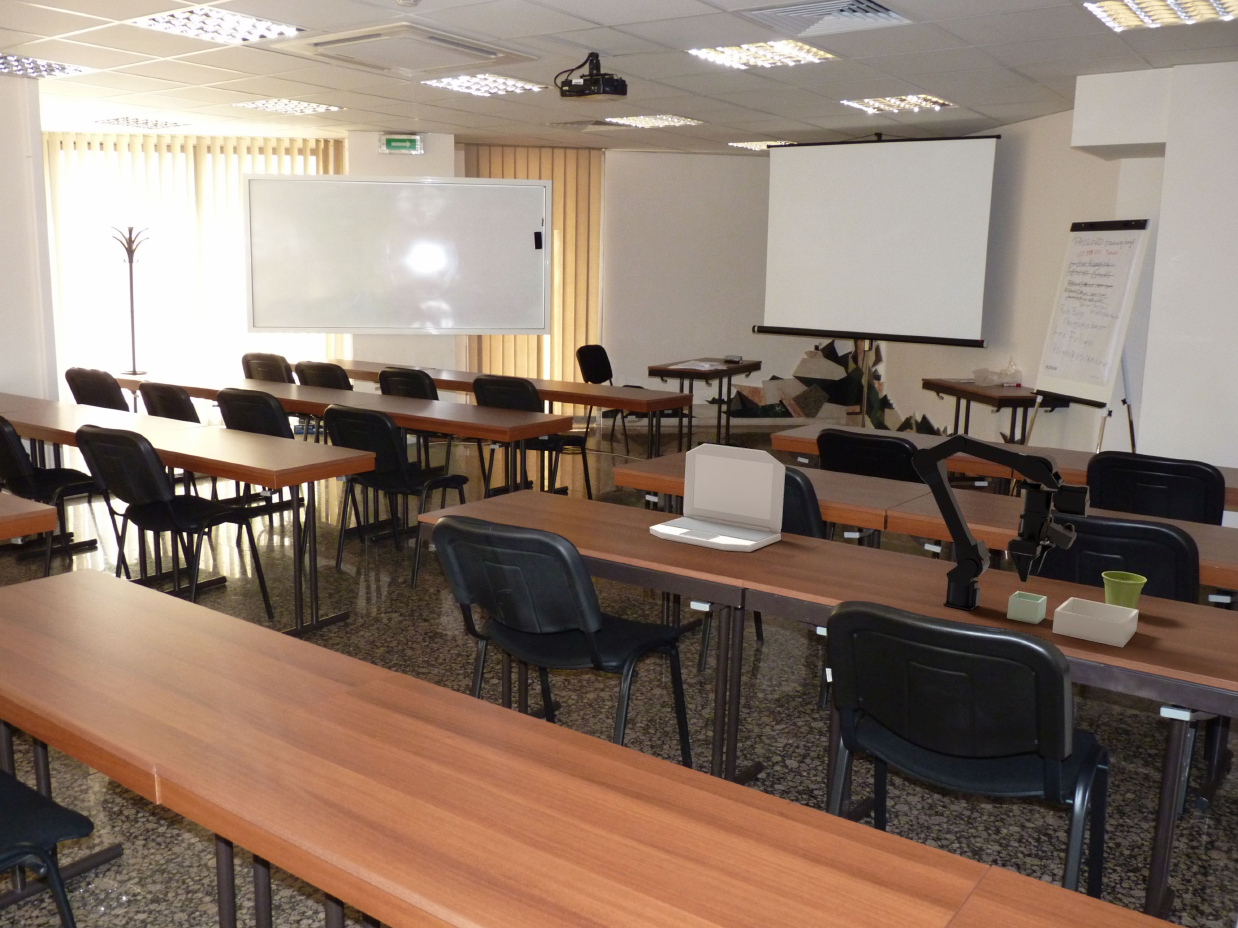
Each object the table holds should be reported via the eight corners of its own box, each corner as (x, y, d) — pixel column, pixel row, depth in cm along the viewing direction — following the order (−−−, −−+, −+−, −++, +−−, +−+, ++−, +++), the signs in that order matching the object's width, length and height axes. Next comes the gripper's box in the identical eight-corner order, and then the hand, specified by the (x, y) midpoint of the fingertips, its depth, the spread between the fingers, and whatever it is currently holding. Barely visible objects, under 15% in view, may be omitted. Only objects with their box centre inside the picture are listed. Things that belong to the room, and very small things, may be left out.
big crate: (1052, 632, 217) (1054, 610, 216) (1068, 618, 228) (1071, 596, 227) (1122, 647, 209) (1125, 624, 208) (1136, 631, 220) (1138, 609, 219)
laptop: (642, 536, 296) (646, 448, 292) (684, 523, 316) (688, 440, 312) (743, 555, 277) (748, 461, 273) (781, 540, 297) (786, 452, 293)
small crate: (1006, 617, 227) (1009, 596, 226) (1015, 611, 232) (1017, 590, 231) (1036, 624, 223) (1039, 602, 222) (1044, 617, 228) (1047, 596, 227)
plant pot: (1147, 620, 229) (1152, 583, 228) (1103, 616, 231) (1108, 579, 229) (1135, 608, 238) (1139, 573, 237) (1093, 604, 240) (1097, 569, 239)
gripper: (1064, 522, 211) (1056, 593, 214) (1085, 510, 226) (1077, 577, 228) (1010, 514, 218) (1002, 583, 220) (1034, 502, 233) (1027, 567, 235)
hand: (1029, 577), depth 226 cm, fingers open, 9 cm apart
